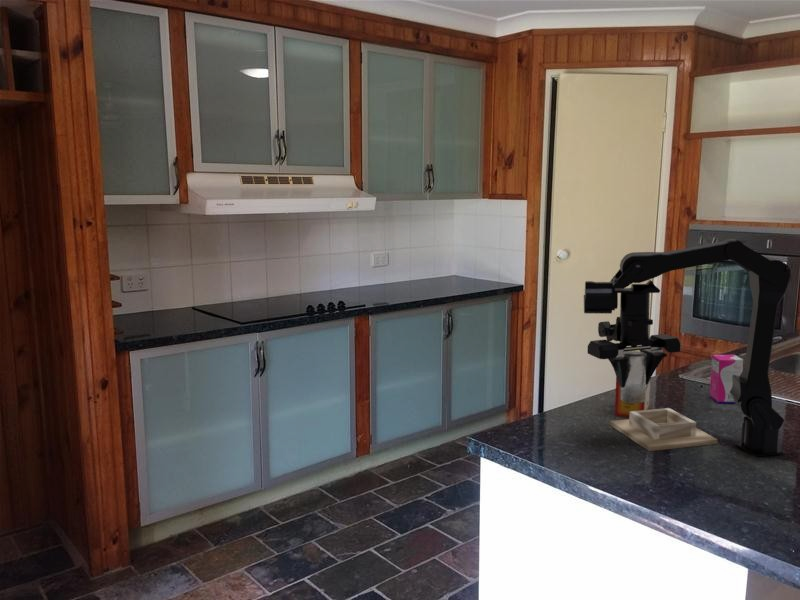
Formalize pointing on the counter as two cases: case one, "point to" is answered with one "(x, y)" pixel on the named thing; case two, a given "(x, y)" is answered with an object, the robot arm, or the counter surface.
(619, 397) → the baking soda box
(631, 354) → the aluminium peg
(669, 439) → the square peg hole base
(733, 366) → the supplement box
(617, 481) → the counter surface
